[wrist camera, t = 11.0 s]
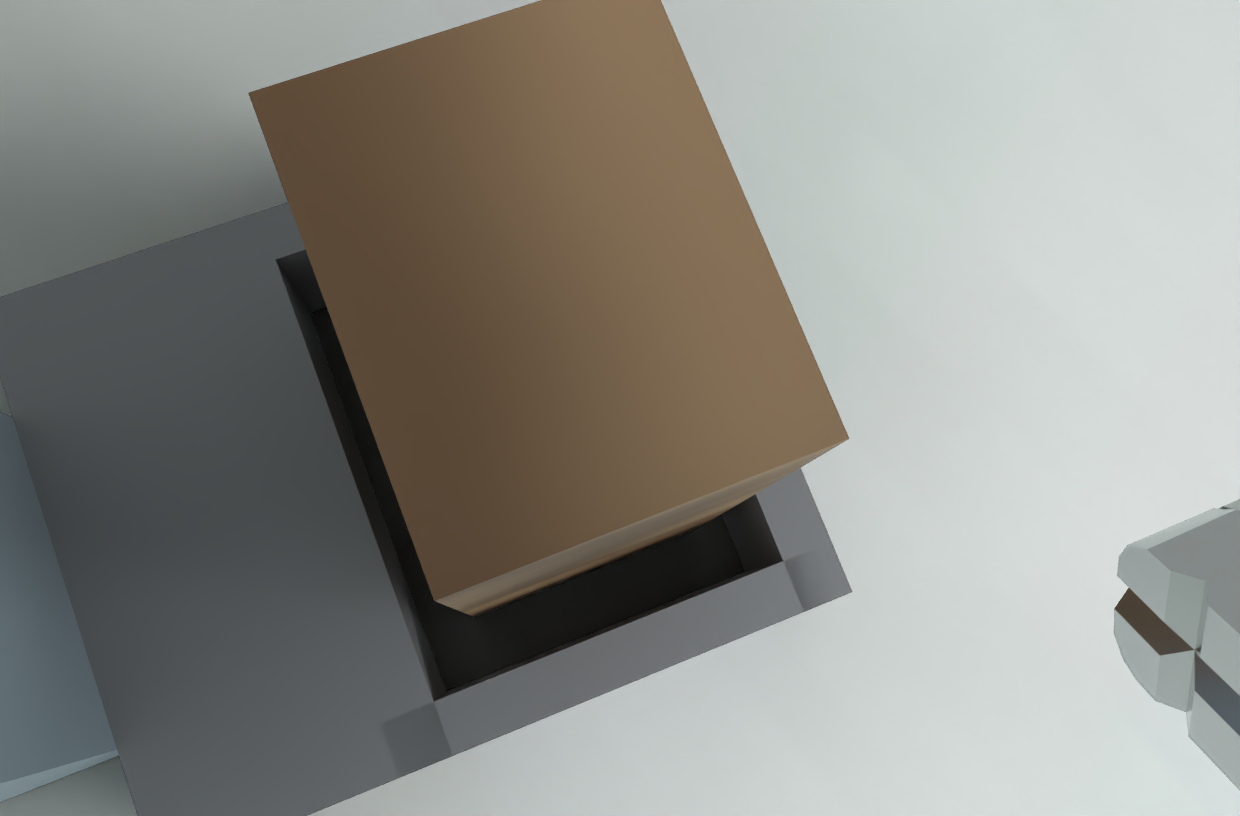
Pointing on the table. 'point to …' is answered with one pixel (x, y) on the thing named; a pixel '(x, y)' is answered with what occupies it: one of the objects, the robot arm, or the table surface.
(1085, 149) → the table surface
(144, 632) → the grey l-shaped post
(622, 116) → the brown rectangular block
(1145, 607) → the robot arm
